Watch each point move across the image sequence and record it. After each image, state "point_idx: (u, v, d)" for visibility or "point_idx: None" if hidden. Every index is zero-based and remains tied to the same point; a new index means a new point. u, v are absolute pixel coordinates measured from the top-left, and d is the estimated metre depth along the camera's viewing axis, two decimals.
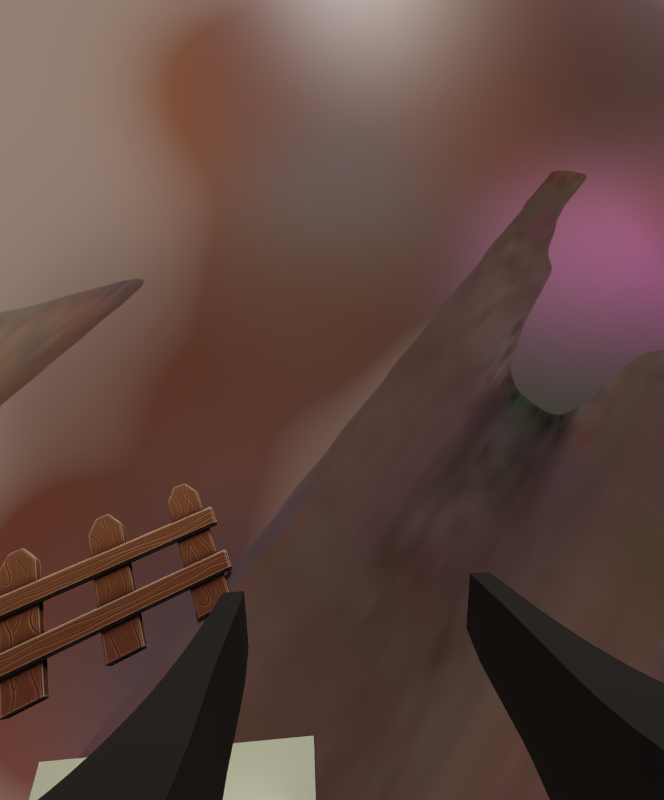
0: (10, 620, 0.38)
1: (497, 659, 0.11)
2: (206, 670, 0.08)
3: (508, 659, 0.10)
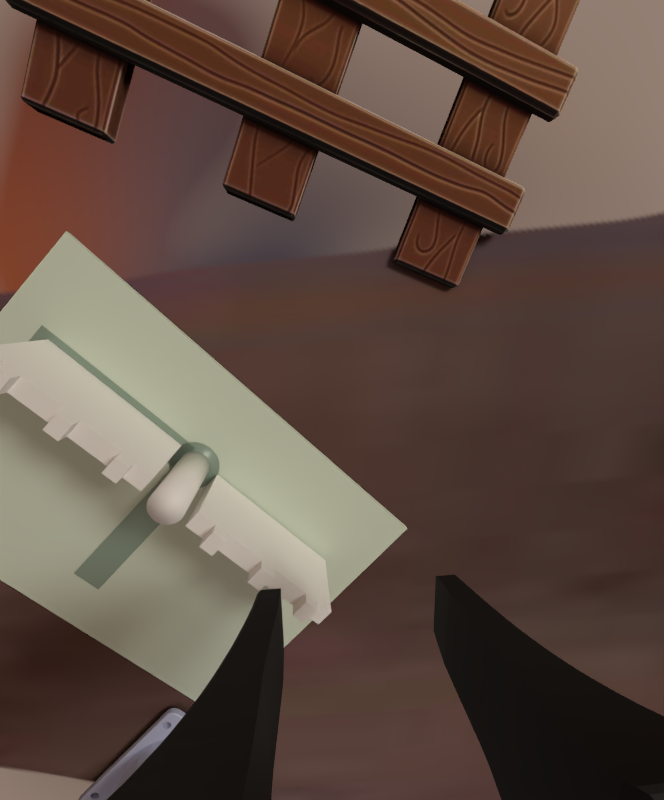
0: None
1: (459, 663, 0.11)
2: (257, 665, 0.09)
3: (468, 663, 0.10)
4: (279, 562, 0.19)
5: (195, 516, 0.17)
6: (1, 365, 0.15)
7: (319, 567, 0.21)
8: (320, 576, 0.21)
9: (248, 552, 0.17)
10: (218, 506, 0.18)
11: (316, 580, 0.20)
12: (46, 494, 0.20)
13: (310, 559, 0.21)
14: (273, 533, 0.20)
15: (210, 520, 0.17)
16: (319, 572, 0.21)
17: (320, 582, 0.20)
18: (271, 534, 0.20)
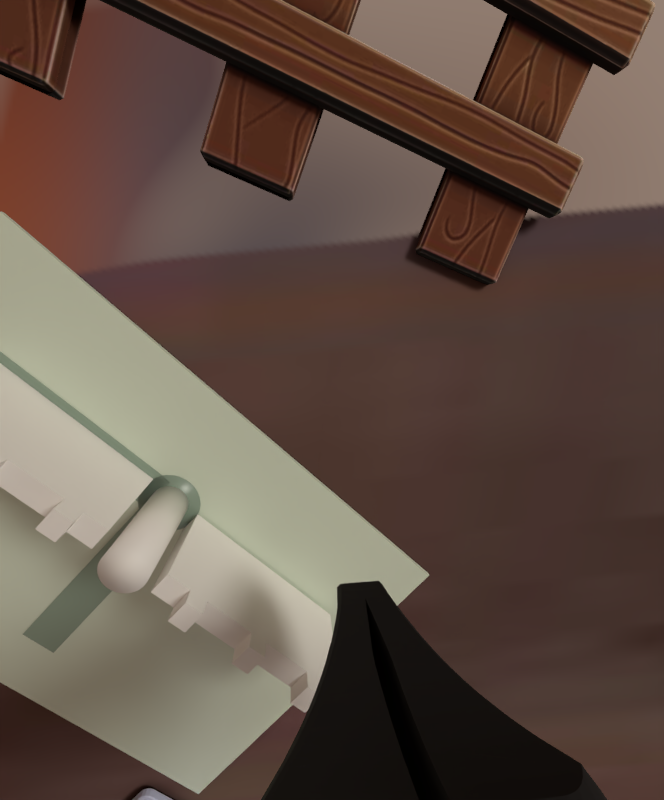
0: None
1: None
2: (366, 655, 0.09)
3: (377, 672, 0.10)
4: (273, 631, 0.15)
5: (163, 580, 0.13)
6: None
7: (323, 627, 0.17)
8: (324, 640, 0.17)
9: (233, 623, 0.14)
10: (196, 561, 0.14)
11: (320, 648, 0.16)
12: None
13: (312, 617, 0.17)
14: (266, 588, 0.16)
15: (183, 584, 0.13)
16: (323, 634, 0.17)
17: (325, 650, 0.16)
18: (263, 591, 0.16)
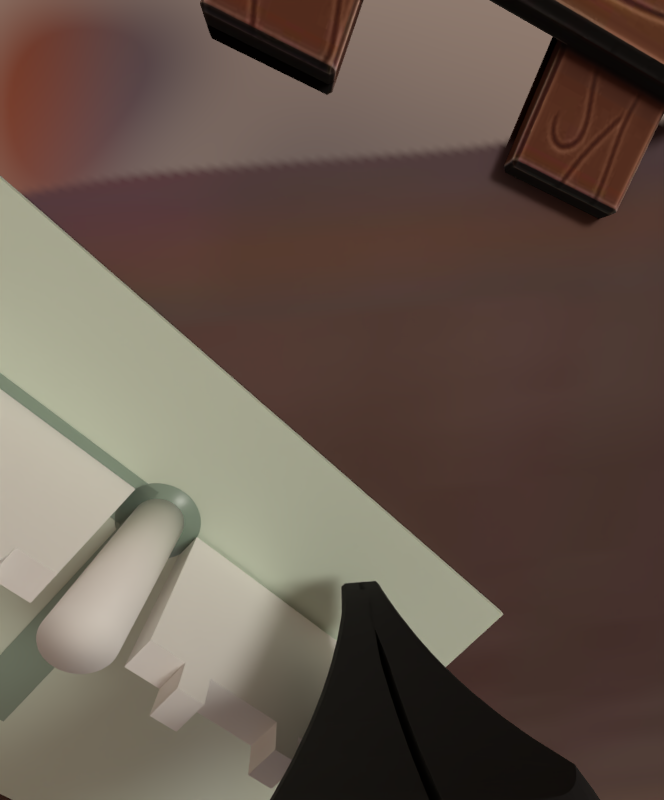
0: None
1: None
2: (372, 654, 0.09)
3: None
4: (306, 711, 0.10)
5: (144, 648, 0.08)
6: None
7: None
8: None
9: (250, 710, 0.09)
10: (194, 610, 0.10)
11: None
12: None
13: None
14: (291, 641, 0.12)
15: (174, 654, 0.09)
16: None
17: None
18: (289, 645, 0.12)
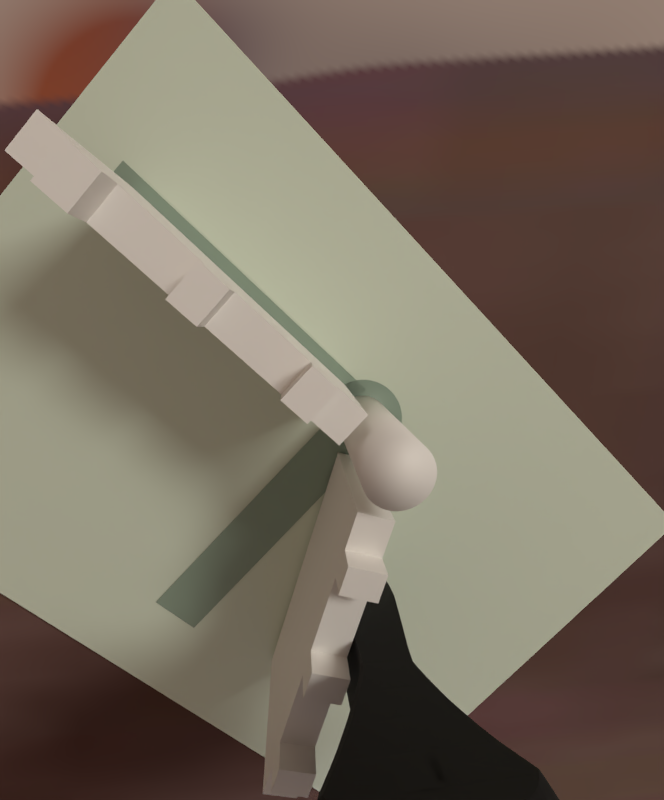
0: None
1: None
2: (402, 652, 0.09)
3: (352, 674, 0.10)
4: None
5: (384, 520, 0.09)
6: (79, 149, 0.07)
7: None
8: None
9: (352, 631, 0.09)
10: None
11: None
12: (117, 469, 0.12)
13: None
14: None
15: (386, 546, 0.09)
16: None
17: None
18: None
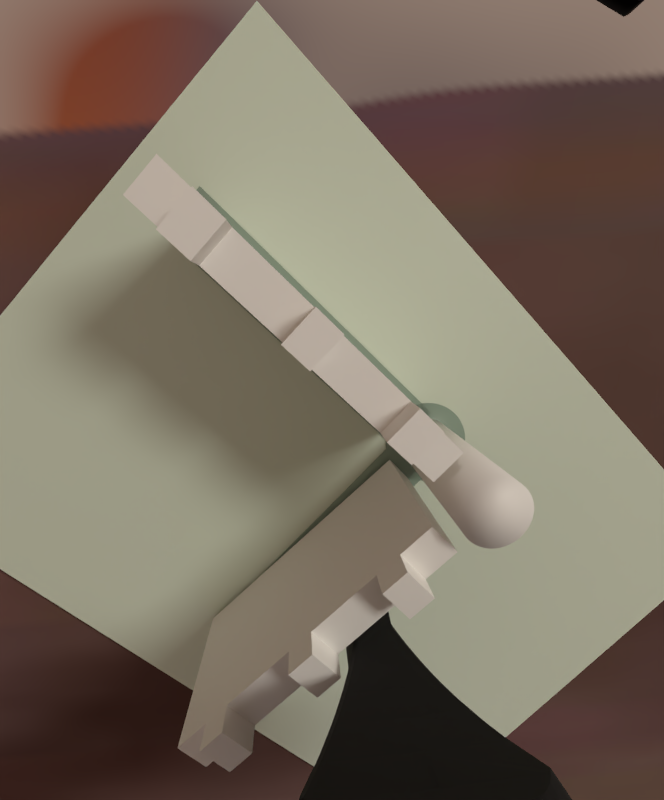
0: None
1: None
2: (390, 653, 0.09)
3: None
4: None
5: (449, 545, 0.09)
6: (200, 195, 0.07)
7: None
8: None
9: (358, 632, 0.09)
10: None
11: None
12: (183, 491, 0.12)
13: None
14: None
15: (435, 570, 0.09)
16: None
17: None
18: None
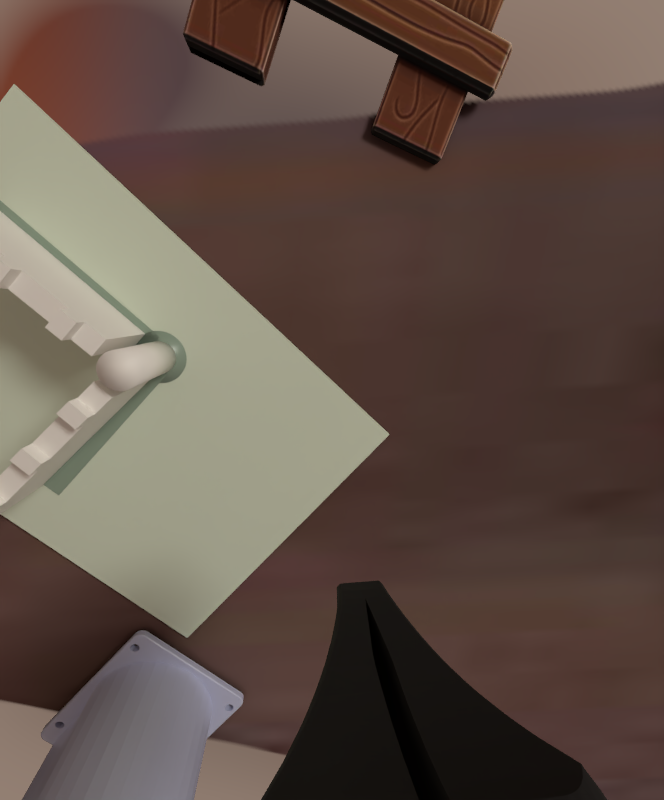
0: None
1: None
2: (366, 655, 0.09)
3: (377, 672, 0.10)
4: (45, 467, 0.17)
5: (105, 393, 0.15)
6: None
7: (34, 488, 0.19)
8: (24, 495, 0.18)
9: (60, 444, 0.16)
10: (114, 402, 0.17)
11: (19, 497, 0.18)
12: (0, 386, 0.19)
13: (44, 478, 0.19)
14: (78, 444, 0.18)
15: (100, 408, 0.16)
16: (28, 492, 0.18)
17: (17, 500, 0.18)
18: (77, 444, 0.18)
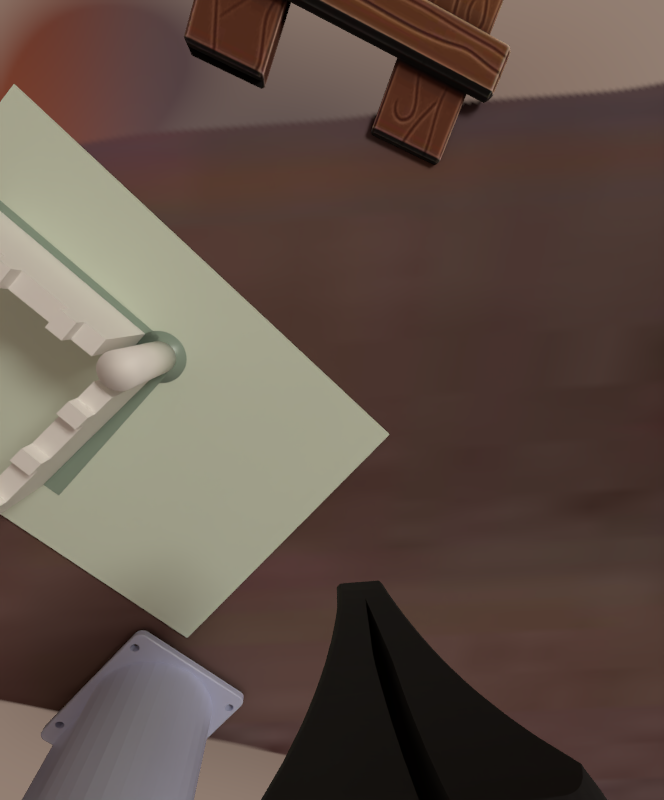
0: None
1: None
2: (366, 655, 0.09)
3: (377, 672, 0.10)
4: (45, 467, 0.17)
5: (105, 393, 0.15)
6: None
7: (34, 488, 0.19)
8: (24, 495, 0.18)
9: (60, 444, 0.16)
10: (114, 402, 0.17)
11: (19, 497, 0.18)
12: (0, 386, 0.19)
13: (44, 478, 0.19)
14: (78, 444, 0.18)
15: (100, 408, 0.16)
16: (28, 492, 0.18)
17: (17, 500, 0.18)
18: (77, 444, 0.18)
